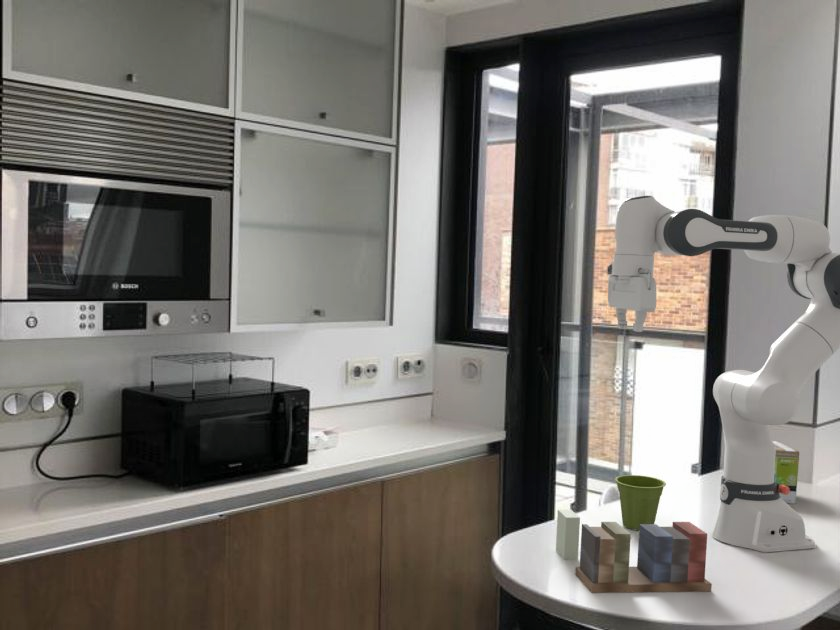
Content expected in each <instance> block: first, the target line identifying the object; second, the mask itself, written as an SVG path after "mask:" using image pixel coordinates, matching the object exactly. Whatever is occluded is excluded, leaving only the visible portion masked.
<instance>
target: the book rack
mask: <svg viewBox="0 0 840 630" xmlns="http://www.w3.org/2000/svg"><path fill="white" fill-rule="evenodd" d="M631 536H632V533H631V532H629V531H628V530H627V529H626V528H624V526H623V525H620V524H619V523H618V522H617V521H601V523H600V526H589V524H587V523H585V524H584V523H582V524H581V537H580V553H579V554H580V558H579V566H575V570H574V573H575V574H574V575H576V577H577V578H578V579H579V581H580V582H581V583H582V584H583V585H584V586H585V588H587V589H588V590H589V592H590V593H595V594H599V593H601V594H602V593H607V594H608V593H609V594H611V593H612V594H613V593H681V592H683V593H686V592H687V593H688V592H689V593H692V592H695V593H697V592H698V593H699V592H702V593H703V592H712V585H713V584H712V583H711V582H710V581H709V580H708V579H706V577H705V575H706V562H707V561H706V560H707V559H706V558H707V547H708V546H707V544H708V533H707V532H705V531H704V530H702V529H701V528H700V527H698V526H696V525H695V524H694V523H692V522H691V521H672V525H671V526H659V525H658V524H656V523H654V524H640V525H639V531H638V545H637V546H638V547H637V560H636V561H637V563H636V566H630V557H631V556H630V554H631V540H632V539H631Z"/></svg>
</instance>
